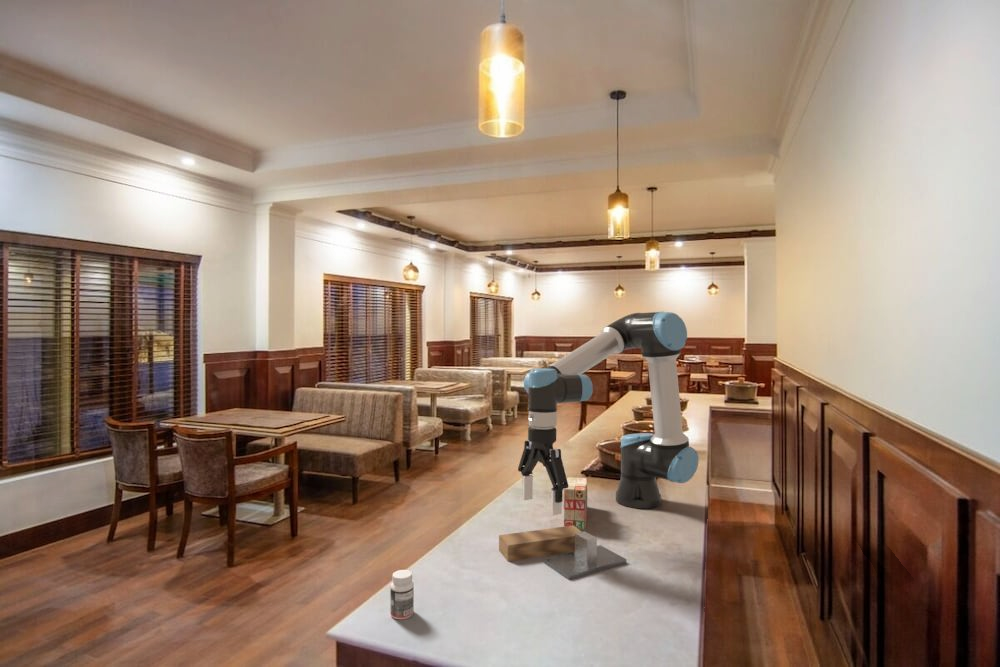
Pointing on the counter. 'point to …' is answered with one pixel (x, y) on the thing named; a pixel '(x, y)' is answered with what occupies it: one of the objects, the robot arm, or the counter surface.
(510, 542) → the board
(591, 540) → the fulcrum
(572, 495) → the stack of blocks
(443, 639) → the counter surface
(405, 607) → the pill bottle
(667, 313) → the robot arm
